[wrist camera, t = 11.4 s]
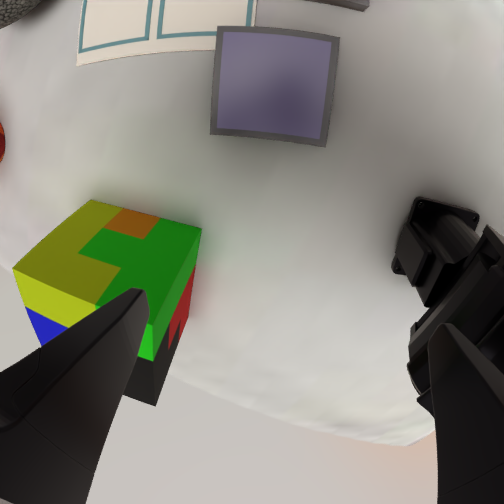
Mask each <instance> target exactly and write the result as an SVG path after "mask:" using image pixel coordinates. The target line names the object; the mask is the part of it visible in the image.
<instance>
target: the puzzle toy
mask: <svg viewBox="0 0 504 504" xmlns="http://www.w3.org/2000/svg"><path fill="white" fill-rule="evenodd" d="M201 231H202V229H201V228H197V227H193V226H190V225H186V224H182V223H178V222H175V221H171V220H167V219H163V218H159V217H156V216H152V215H148V214H144V213H140V212H136V211H133V210H129V209H125V208H121V207H117V206H113V205H109V204H106V203H102V202H98V201H94V200H90V201H88V202H87V203H86V204H84V205H83V206H82V207H81V208H79V209H78V210H77V211H76V212H74V213H73V214H72V215H71V216H69V217H68V218H67V219H66V220H65V221H63V222H62V223H61V224H60V225H59V226H57V227H56V228H55V229H54V230H53V231H52V232H50V233H49V234H48V235H47V236H46V237H45V238H44V239H42V240H41V241H40V242H39V243H38V244H37V245H36V246H35V247H34V248H33V249H31V250H30V251H29V252H28V253H27V254H26V255H25V256H24V257H23V258H22V259H21V260H20V261H19V262H18V263H17V264H16V265H15V266H14V267H13V268H12V269H13V273H14V276H15V279H16V282H17V285H18V288H19V291H20V294H21V297H22V299H23V302H24V305H25V308H26V310H27V313H28V316H29V318H30V320H31V323H32V325H33V328H34V330H35V332H36V335H37V337H38V339H39V341H40V343H41V346H42V345H44V344H45V343H47V342H48V341H50V340H51V339H53V338H54V337H56V336H57V335H59V334H60V333H62V332H63V331H65V330H66V329H68V328H69V327H71V326H72V325H74V324H75V323H77V322H78V321H80V320H81V319H83V318H84V317H86V316H87V315H89V314H90V313H92V312H94V311H95V310H97V309H98V308H100V307H101V306H103V305H104V304H106V303H107V302H109V301H111V300H112V299H114V298H115V297H117V296H118V295H120V294H122V293H123V292H125V291H126V290H128V289H130V288H132V287H135V288H140V289H144V290H145V291H146V294H147V299H148V304H149V310H150V314H149V319H148V322H147V325H146V329H145V332H144V335H143V339H142V342H141V346H140V349H139V353H138V356H137V359H136V362H135V365H134V367H133V370H132V372H131V374H130V377H129V379H128V382H127V384H126V387H125V390H124V392H123V395H125V396H128V397H130V398H133V399H136V400H138V401H141V402H144V403H147V404H150V405H153V406H156V404H157V401H158V398H159V395H160V392H161V390H162V387H163V384H164V381H165V378H166V375H167V373H168V370H169V367H170V364H171V362H172V359H173V356H174V354H175V351H176V348H177V345H178V343H179V340H180V337H181V335H182V332H183V329H184V327H185V324H186V321H187V319H188V313H189V306H190V299H191V292H192V286H193V279H194V273H195V266H196V260H197V254H198V248H199V242H200V236H201Z"/></svg>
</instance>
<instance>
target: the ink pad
mask: <svg viewBox="0 0 504 504" xmlns="http://www.w3.org/2000/svg"><path fill="white" fill-rule="evenodd" d="M339 41H340V37H335V36H330V35H325V34H319V33H313V32H306V31H298V30H290V29H281V28H269V27H254V26H217V34H216V46H215V58H214V72H213V86H212V103H211V122H210V134H212V135H227V136H240V137H251V138H261V139H270V140H279V141H287V142H294V143H301V144H308V145H315V146H321V147H326V142H327V136H328V129H329V122H330V115H331V108H332V101H333V93H334V86H335V77H336V69H337V60H338V51H339Z"/></svg>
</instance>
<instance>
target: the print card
mask: <svg viewBox="0 0 504 504" xmlns="http://www.w3.org/2000/svg"><path fill="white" fill-rule="evenodd" d="M256 5H257V0H82V7H81V15H80V23H79V34H78V47H77V66H80V65H85V64H89V63H94V62H99V61H104V60H110V59H115V58H122V57H128V56H135V55H143V54H153V53H163V52H177V51H200V50H215V46H216V34H217V26H255V15H256Z"/></svg>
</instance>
